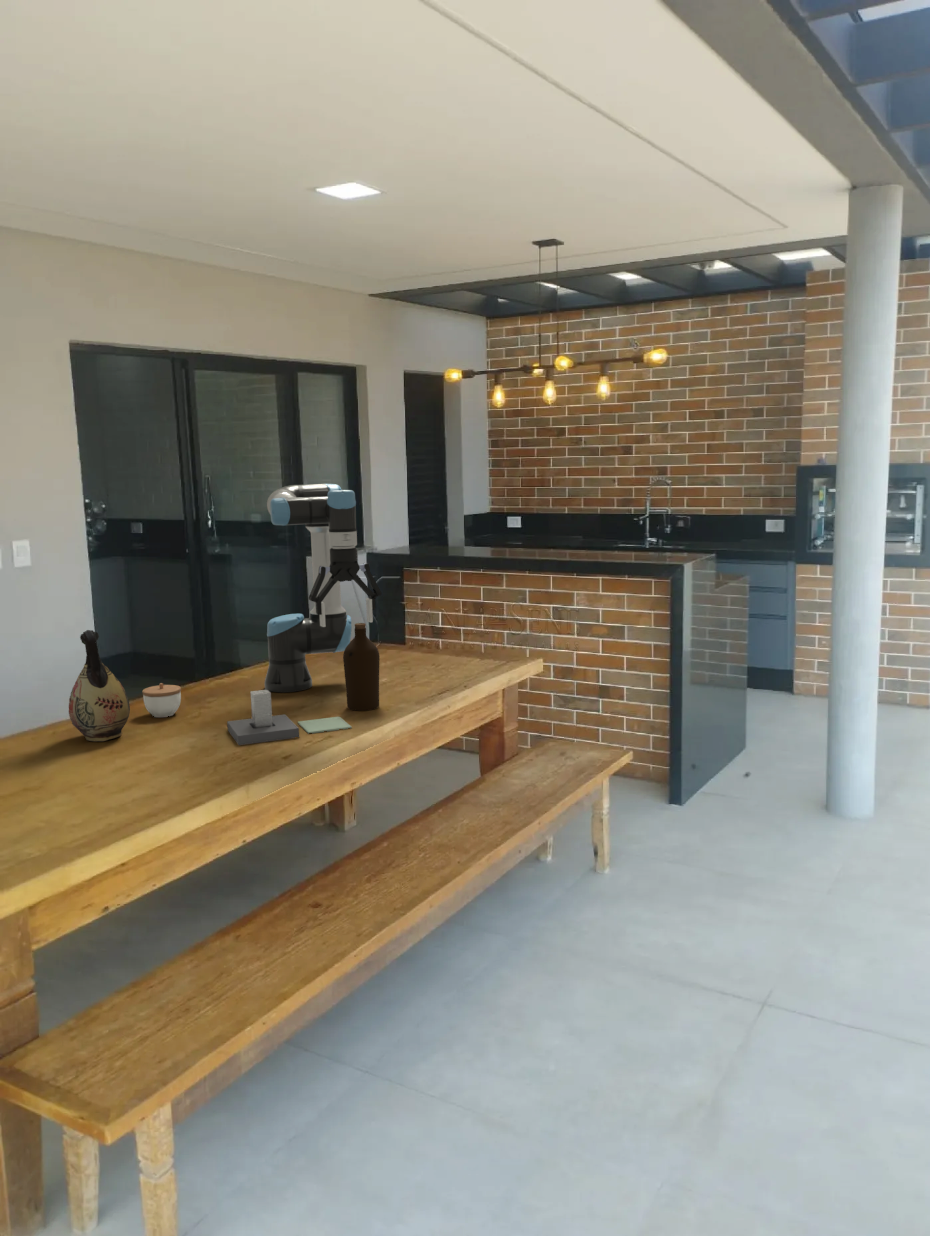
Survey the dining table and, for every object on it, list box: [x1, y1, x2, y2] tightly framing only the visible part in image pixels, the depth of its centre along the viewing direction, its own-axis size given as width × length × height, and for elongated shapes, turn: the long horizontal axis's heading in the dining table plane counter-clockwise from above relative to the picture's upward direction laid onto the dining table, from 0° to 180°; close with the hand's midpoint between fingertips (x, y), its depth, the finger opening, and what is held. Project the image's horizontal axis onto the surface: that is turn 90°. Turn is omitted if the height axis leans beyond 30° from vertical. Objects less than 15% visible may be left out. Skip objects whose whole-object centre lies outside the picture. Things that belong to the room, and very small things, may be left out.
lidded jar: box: [141, 682, 182, 718], centre depth 292 cm, size 11×11×9 cm
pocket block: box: [226, 714, 300, 746], centre depth 270 cm, size 16×16×2 cm
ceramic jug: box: [68, 629, 131, 742], centre depth 267 cm, size 17×15×30 cm
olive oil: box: [342, 622, 381, 712], centre depth 294 cm, size 11×11×25 cm
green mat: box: [297, 716, 353, 735], centre depth 276 cm, size 12×12×1 cm
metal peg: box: [250, 689, 273, 729], centre depth 269 cm, size 4×4×12 cm
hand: (346, 624), depth 276 cm, fingers open, 13 cm apart
